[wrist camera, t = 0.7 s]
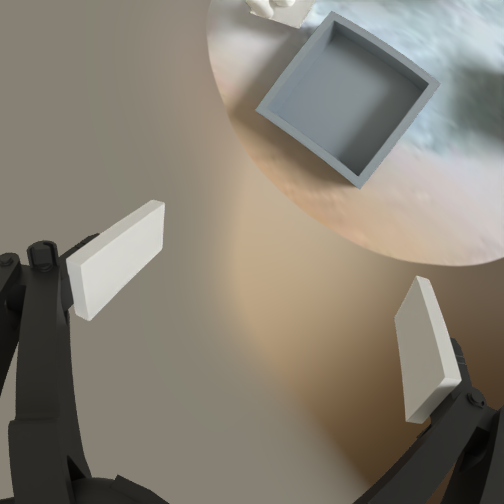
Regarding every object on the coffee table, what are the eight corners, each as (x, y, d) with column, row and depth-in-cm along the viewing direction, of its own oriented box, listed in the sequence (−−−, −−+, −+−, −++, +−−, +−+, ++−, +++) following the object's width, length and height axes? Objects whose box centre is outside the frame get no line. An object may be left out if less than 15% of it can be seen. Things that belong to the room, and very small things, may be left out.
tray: (336, 27, 33) (331, 10, 28) (432, 93, 31) (440, 83, 27) (267, 116, 39) (254, 110, 35) (360, 187, 38) (359, 189, 33)
